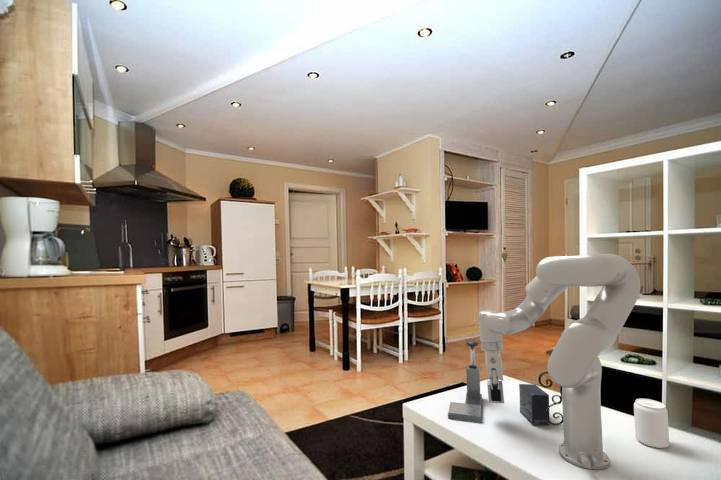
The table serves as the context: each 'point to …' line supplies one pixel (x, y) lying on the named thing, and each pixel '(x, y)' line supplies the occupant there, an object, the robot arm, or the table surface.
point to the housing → (490, 392)
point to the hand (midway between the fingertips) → (496, 397)
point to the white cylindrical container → (651, 423)
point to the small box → (534, 404)
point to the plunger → (472, 351)
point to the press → (469, 399)
